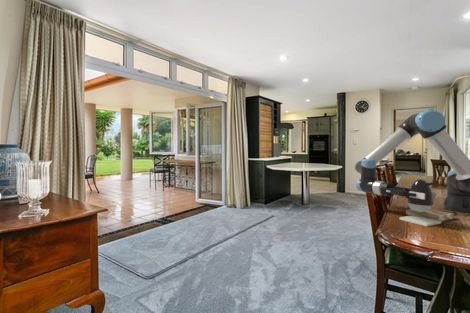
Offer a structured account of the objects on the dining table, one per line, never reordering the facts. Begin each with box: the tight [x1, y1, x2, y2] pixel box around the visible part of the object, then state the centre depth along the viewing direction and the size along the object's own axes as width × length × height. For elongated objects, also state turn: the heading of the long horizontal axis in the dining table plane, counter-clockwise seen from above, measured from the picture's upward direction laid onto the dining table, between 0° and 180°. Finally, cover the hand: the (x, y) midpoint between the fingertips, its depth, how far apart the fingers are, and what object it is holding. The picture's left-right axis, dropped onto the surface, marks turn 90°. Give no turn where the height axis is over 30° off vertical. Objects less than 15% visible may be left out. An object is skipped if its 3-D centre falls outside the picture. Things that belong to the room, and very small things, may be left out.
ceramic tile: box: [399, 215, 442, 227], centre depth 119 cm, size 12×12×1 cm
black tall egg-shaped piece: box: [406, 178, 435, 213], centre depth 119 cm, size 10×10×15 cm
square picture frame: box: [405, 208, 454, 222], centre depth 129 cm, size 15×15×2 cm
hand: (430, 195), depth 115 cm, fingers closed on black tall egg-shaped piece, 9 cm apart
